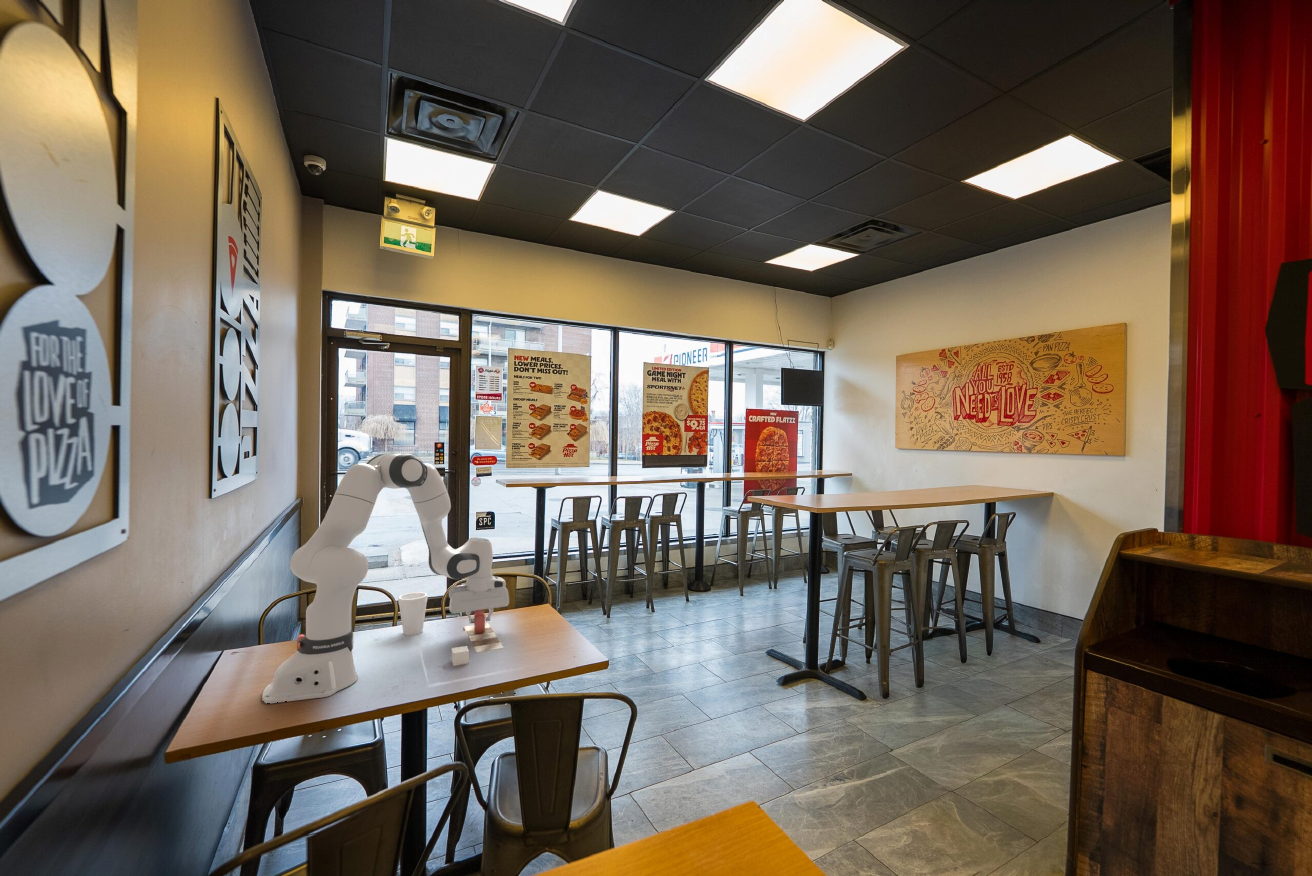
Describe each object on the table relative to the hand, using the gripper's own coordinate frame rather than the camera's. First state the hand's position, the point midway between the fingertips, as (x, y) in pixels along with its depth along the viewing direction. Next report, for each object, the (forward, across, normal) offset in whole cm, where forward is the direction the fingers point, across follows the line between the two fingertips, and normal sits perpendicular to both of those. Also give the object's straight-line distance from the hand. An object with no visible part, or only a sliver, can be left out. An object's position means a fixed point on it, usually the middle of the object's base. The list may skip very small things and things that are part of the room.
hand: (479, 621), depth 196 cm
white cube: (+4, -10, -24) cm, 27 cm away
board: (+4, 0, -6) cm, 7 cm away
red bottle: (+4, 0, 0) cm, 4 cm away
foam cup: (+4, -21, +12) cm, 25 cm away
